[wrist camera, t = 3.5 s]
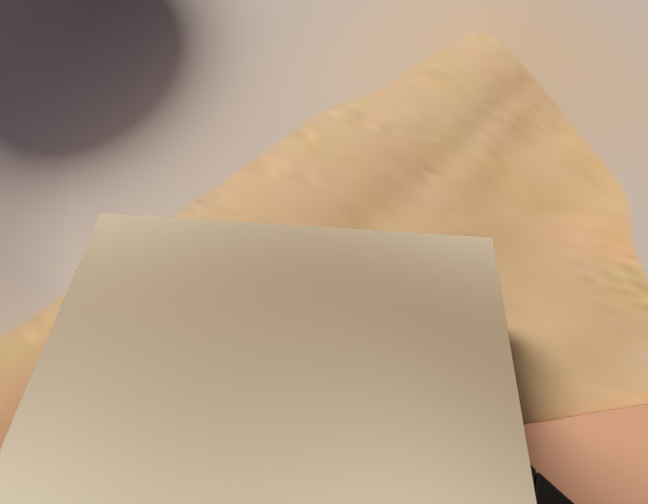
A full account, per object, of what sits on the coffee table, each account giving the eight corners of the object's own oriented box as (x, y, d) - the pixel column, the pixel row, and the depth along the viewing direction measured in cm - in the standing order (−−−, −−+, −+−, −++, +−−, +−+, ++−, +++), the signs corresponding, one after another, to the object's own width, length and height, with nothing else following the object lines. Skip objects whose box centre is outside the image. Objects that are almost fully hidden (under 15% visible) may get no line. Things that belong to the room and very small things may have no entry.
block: (364, 503, 13) (611, 954, 2) (243, 493, 13) (-177, 864, 2) (366, 374, 15) (492, 237, 4) (261, 366, 15) (100, 213, 4)
